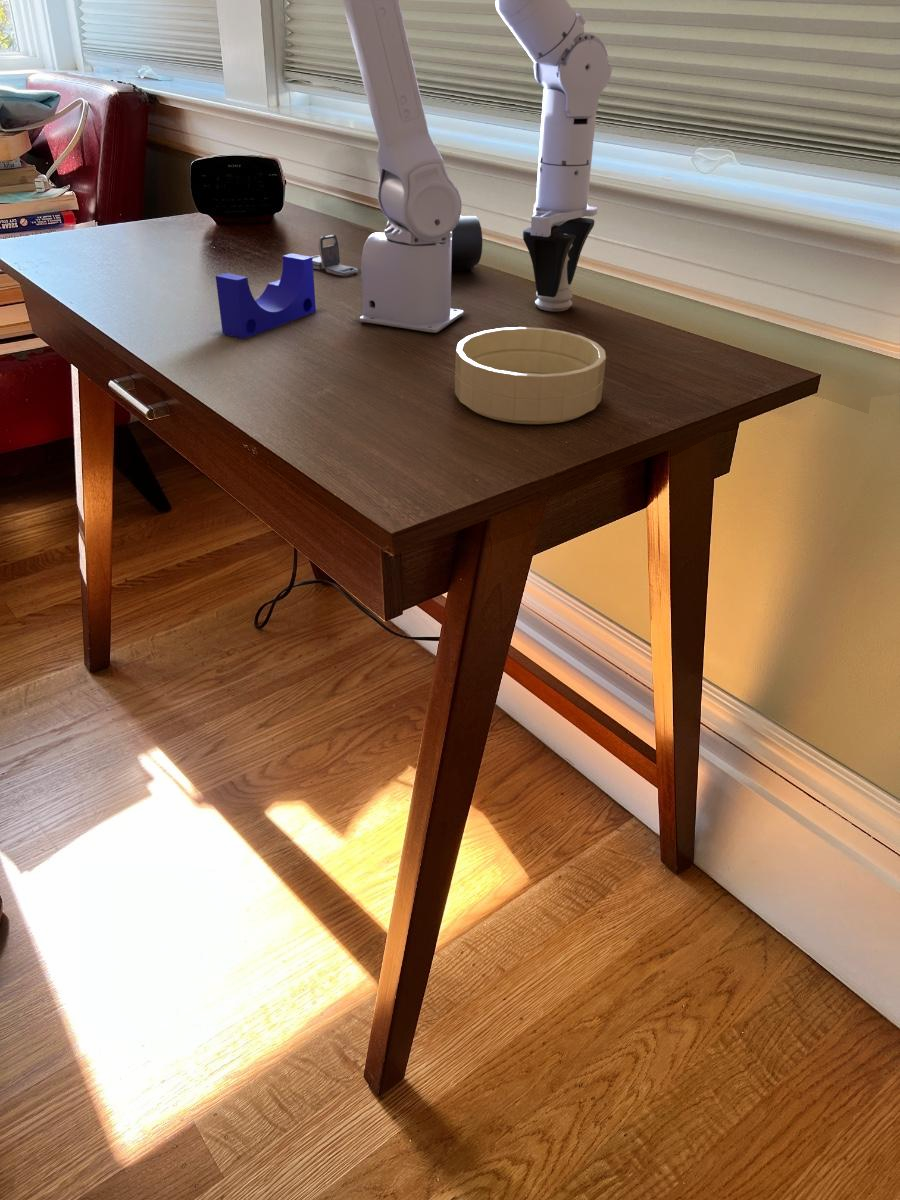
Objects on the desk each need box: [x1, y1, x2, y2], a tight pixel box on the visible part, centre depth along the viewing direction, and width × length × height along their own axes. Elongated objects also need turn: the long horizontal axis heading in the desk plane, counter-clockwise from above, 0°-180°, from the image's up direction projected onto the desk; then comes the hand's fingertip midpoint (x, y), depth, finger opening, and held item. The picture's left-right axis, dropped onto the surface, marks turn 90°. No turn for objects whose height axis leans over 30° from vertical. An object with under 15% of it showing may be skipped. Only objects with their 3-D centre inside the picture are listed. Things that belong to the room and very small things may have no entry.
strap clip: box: [311, 234, 359, 276], centre depth 119 cm, size 8×3×4 cm, turn 48°
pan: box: [454, 326, 607, 425], centre depth 82 cm, size 13×13×4 cm
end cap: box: [451, 215, 483, 272], centre depth 118 cm, size 10×7×7 cm
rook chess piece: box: [534, 234, 573, 312], centre depth 105 cm, size 4×4×8 cm
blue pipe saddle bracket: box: [215, 252, 317, 340], centre depth 99 cm, size 12×4×6 cm, turn 148°
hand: (554, 289), depth 106 cm, fingers open, 5 cm apart
